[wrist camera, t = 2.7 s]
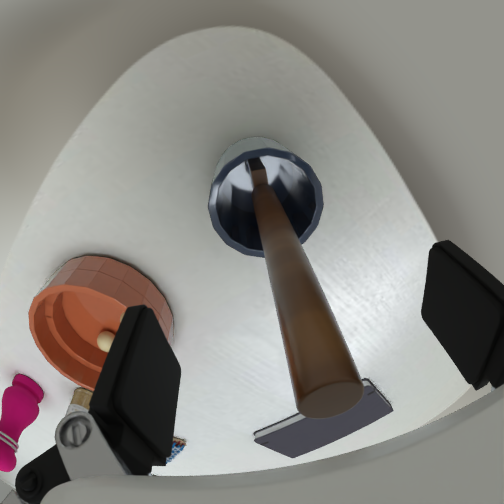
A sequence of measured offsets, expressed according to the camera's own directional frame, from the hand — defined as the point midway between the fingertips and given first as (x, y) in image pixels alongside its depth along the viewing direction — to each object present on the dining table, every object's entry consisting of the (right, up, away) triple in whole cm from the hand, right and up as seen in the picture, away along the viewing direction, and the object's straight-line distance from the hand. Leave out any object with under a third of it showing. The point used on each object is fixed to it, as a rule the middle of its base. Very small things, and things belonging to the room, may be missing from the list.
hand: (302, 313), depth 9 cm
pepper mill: (-41, -21, +28) cm, 54 cm away
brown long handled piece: (-1, +8, +15) cm, 17 cm away
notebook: (+11, -27, +35) cm, 45 cm away
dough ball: (-18, -8, +22) cm, 30 cm away
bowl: (-18, -5, +21) cm, 28 cm away
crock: (-1, +8, +16) cm, 18 cm away
